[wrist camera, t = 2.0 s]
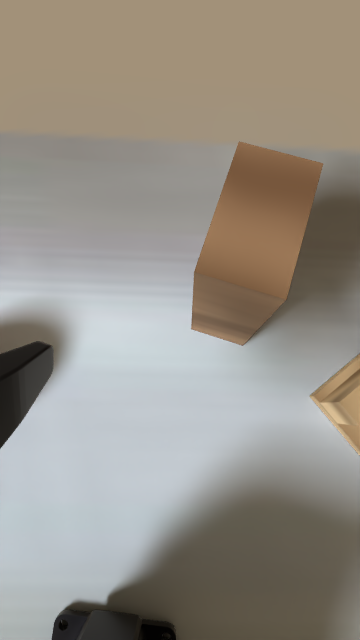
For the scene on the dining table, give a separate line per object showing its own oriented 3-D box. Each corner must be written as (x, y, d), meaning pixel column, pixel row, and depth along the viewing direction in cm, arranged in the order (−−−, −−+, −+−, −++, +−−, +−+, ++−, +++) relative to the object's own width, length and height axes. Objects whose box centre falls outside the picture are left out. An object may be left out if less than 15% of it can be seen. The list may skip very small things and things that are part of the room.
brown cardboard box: (242, 345, 22) (286, 299, 12) (191, 329, 22) (194, 272, 13) (266, 263, 23) (323, 163, 14) (217, 248, 24) (238, 141, 14)
